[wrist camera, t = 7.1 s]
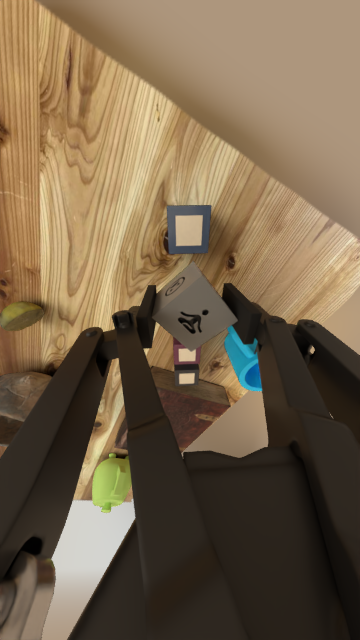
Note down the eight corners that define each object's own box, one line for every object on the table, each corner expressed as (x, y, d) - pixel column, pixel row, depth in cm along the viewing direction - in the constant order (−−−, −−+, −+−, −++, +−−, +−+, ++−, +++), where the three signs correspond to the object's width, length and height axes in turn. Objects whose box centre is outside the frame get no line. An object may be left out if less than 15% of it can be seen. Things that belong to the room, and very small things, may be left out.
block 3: (196, 352, 32) (199, 370, 28) (195, 367, 34) (198, 385, 30) (174, 353, 32) (174, 371, 28) (174, 368, 34) (175, 387, 30)
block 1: (203, 209, 19) (211, 204, 16) (201, 248, 22) (208, 253, 18) (167, 209, 19) (166, 205, 15) (169, 249, 22) (169, 254, 18)
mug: (272, 342, 31) (301, 375, 24) (237, 361, 34) (253, 397, 27) (243, 301, 26) (269, 328, 19) (204, 328, 29) (214, 360, 22)
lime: (45, 298, 25) (19, 314, 20) (51, 324, 27) (29, 342, 23) (14, 293, 24) (-21, 308, 20) (23, 319, 27) (-6, 337, 22)
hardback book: (150, 365, 33) (147, 386, 29) (224, 386, 38) (230, 406, 34) (118, 428, 47) (113, 449, 42) (175, 438, 51) (176, 457, 47)
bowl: (89, 396, 38) (65, 445, 30) (29, 404, 39) (-12, 454, 30) (58, 355, 31) (13, 404, 22) (-15, 365, 32) (-85, 417, 23)
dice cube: (156, 293, 16) (151, 317, 12) (193, 261, 15) (202, 274, 11) (186, 323, 19) (191, 352, 14) (221, 297, 17) (238, 320, 13)
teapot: (126, 470, 65) (116, 519, 54) (93, 466, 61) (75, 517, 50) (145, 452, 56) (138, 506, 45) (107, 445, 52) (90, 502, 41)
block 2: (197, 328, 29) (201, 344, 25) (196, 346, 31) (199, 364, 27) (173, 328, 29) (173, 345, 25) (174, 347, 31) (174, 365, 27)
